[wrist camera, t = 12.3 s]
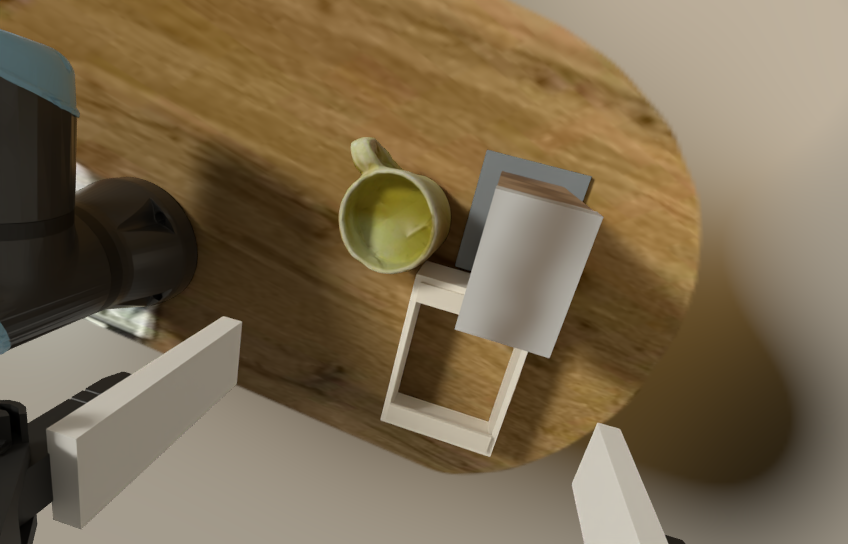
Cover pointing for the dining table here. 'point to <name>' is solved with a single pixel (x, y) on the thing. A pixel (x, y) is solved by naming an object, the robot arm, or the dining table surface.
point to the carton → (430, 419)
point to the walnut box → (527, 264)
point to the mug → (391, 212)
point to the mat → (486, 189)
